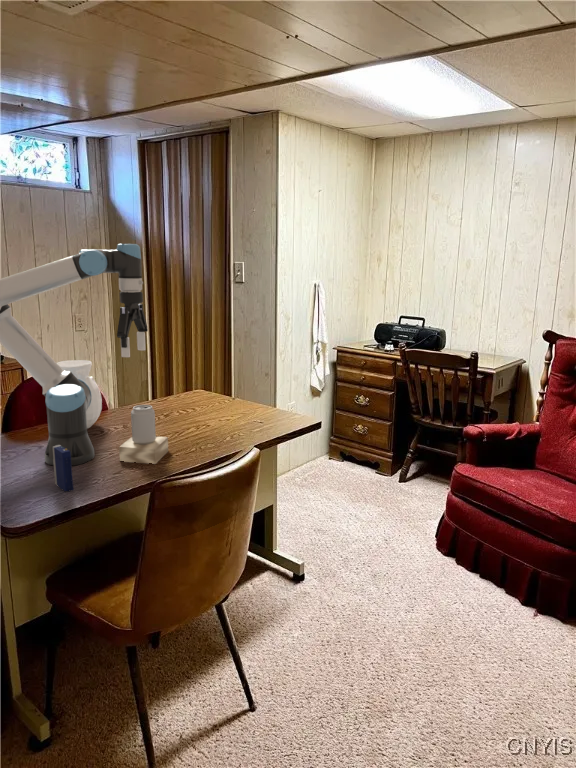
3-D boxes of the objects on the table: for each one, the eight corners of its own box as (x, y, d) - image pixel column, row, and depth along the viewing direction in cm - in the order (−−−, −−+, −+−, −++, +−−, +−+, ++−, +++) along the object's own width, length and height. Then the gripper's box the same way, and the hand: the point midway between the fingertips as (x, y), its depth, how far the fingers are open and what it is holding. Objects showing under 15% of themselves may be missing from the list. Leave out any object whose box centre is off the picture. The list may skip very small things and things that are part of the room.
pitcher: (46, 424, 220) (41, 361, 214) (94, 417, 231) (90, 356, 225) (60, 437, 205) (54, 369, 200) (110, 428, 216) (106, 364, 210)
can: (158, 438, 190) (157, 404, 188) (151, 446, 183) (149, 410, 180) (137, 437, 191) (135, 403, 188) (128, 444, 184) (127, 409, 181)
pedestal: (119, 461, 183) (119, 446, 182) (134, 449, 195) (133, 435, 193) (155, 463, 181) (155, 449, 180) (168, 451, 193) (167, 437, 192)
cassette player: (73, 490, 161) (70, 450, 158) (65, 492, 159) (62, 452, 157) (62, 482, 166) (59, 443, 163) (54, 484, 165) (51, 445, 162)
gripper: (126, 294, 178) (129, 360, 183) (155, 289, 202) (157, 348, 207) (103, 293, 179) (107, 359, 184) (135, 288, 203) (137, 347, 208)
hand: (134, 353), depth 195 cm, fingers open, 13 cm apart
